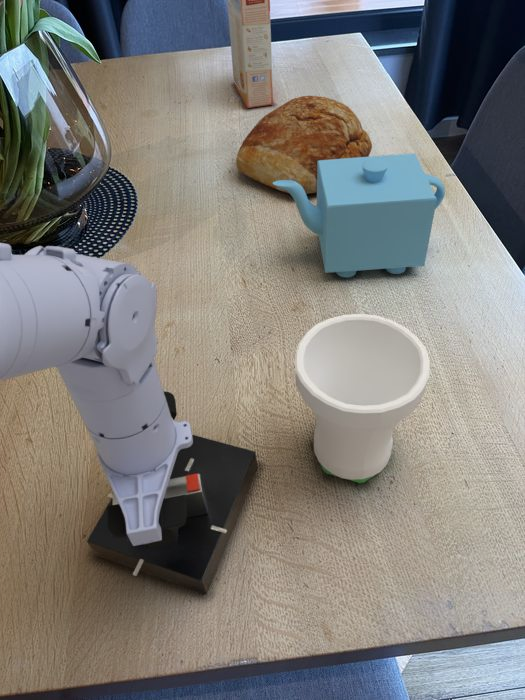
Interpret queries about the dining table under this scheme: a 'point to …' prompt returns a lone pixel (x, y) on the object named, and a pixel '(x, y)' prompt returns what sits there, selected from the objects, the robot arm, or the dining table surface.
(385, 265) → the teapot
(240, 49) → the cracker box
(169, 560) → the switch base
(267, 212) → the dining table surface
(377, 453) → the cup
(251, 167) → the bread
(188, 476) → the red-topped metal block
